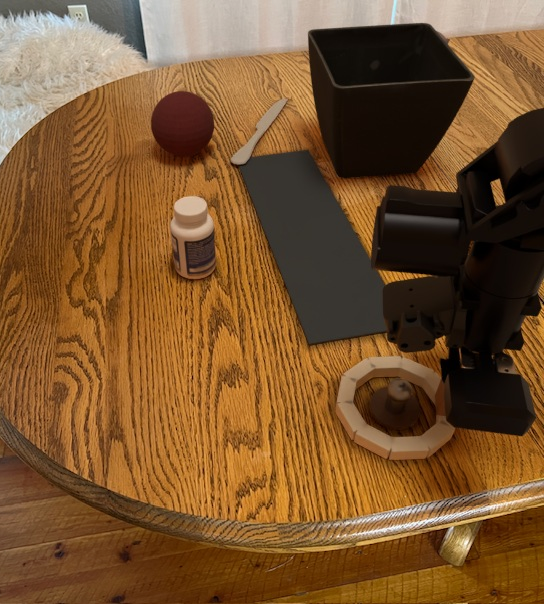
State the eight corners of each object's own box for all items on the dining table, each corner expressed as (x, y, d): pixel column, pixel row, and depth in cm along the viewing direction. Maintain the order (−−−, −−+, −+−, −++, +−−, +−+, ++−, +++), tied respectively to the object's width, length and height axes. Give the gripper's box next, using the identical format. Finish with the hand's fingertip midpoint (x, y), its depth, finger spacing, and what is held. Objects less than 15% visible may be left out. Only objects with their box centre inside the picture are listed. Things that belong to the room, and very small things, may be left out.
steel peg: (429, 412, 62) (439, 386, 58) (396, 439, 59) (404, 412, 56) (391, 382, 64) (399, 355, 61) (359, 406, 62) (365, 379, 59)
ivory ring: (477, 415, 61) (496, 375, 56) (398, 483, 56) (411, 445, 51) (390, 348, 68) (401, 307, 63) (312, 403, 63) (317, 363, 58)
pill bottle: (223, 260, 79) (221, 199, 72) (203, 285, 76) (199, 223, 69) (188, 248, 81) (182, 187, 74) (167, 272, 78) (159, 211, 71)
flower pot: (448, 185, 90) (479, 75, 78) (323, 195, 89) (335, 86, 77) (408, 122, 103) (429, 21, 91) (299, 130, 102) (306, 29, 90)
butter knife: (226, 160, 95) (243, 164, 94) (278, 96, 110) (293, 98, 109) (226, 163, 95) (244, 166, 94) (277, 98, 110) (293, 100, 110)
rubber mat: (408, 328, 70) (408, 326, 70) (308, 345, 68) (309, 343, 68) (308, 151, 98) (308, 149, 97) (236, 160, 96) (236, 158, 96)
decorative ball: (213, 169, 95) (211, 110, 88) (150, 169, 95) (143, 110, 88) (216, 136, 102) (214, 79, 95) (158, 136, 102) (151, 79, 95)
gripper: (394, 196, 55) (370, 314, 66) (400, 351, 42) (368, 465, 53) (523, 206, 53) (475, 325, 64) (570, 370, 40) (501, 484, 51)
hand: (453, 392), depth 58 cm, fingers closed on ivory ring, 2 cm apart
